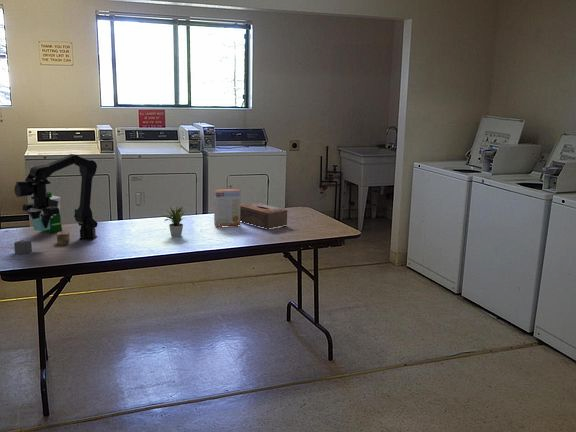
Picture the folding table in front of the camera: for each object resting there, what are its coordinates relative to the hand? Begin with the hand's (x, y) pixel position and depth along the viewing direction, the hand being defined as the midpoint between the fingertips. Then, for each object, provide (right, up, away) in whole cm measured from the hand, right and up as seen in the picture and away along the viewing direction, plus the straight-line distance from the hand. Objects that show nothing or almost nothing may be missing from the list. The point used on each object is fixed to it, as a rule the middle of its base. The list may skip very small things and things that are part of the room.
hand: (42, 227), depth 255 cm
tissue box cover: (+100, 0, +62) cm, 118 cm away
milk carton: (-9, -3, +32) cm, 33 cm away
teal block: (0, -1, 0) cm, 1 cm away
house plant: (+56, -5, +31) cm, 64 cm away
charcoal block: (-6, -11, -6) cm, 14 cm away
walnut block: (+5, -8, +11) cm, 15 cm away
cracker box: (+80, -1, +55) cm, 97 cm away
